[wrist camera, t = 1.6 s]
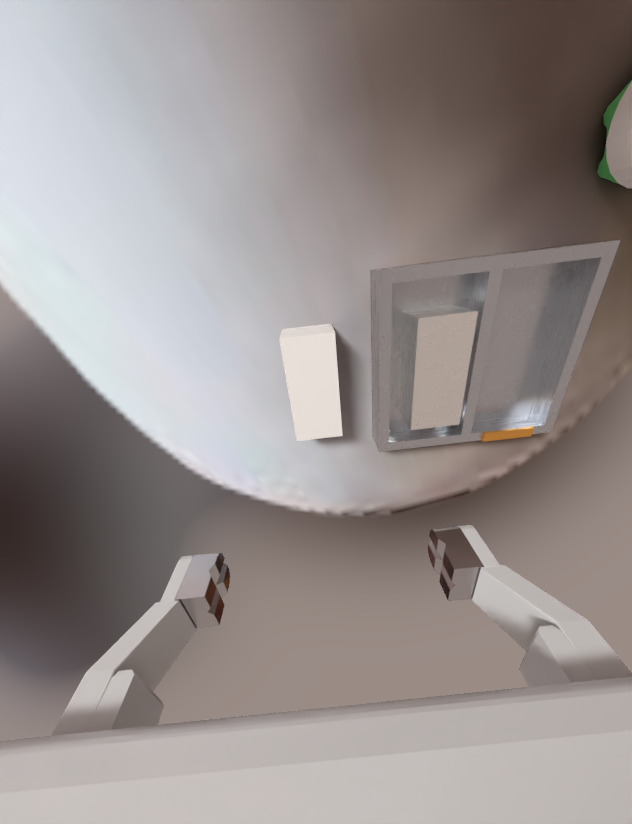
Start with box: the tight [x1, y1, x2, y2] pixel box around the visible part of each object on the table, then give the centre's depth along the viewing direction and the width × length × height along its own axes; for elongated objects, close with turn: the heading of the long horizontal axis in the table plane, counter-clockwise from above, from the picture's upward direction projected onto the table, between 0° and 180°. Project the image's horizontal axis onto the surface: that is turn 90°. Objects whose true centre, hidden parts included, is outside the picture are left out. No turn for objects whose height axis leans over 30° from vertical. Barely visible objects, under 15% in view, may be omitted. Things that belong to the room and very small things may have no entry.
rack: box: [371, 240, 621, 452], centre depth 25 cm, size 17×18×5 cm
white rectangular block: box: [279, 324, 343, 441], centre depth 26 cm, size 10×4×4 cm, turn 6°
